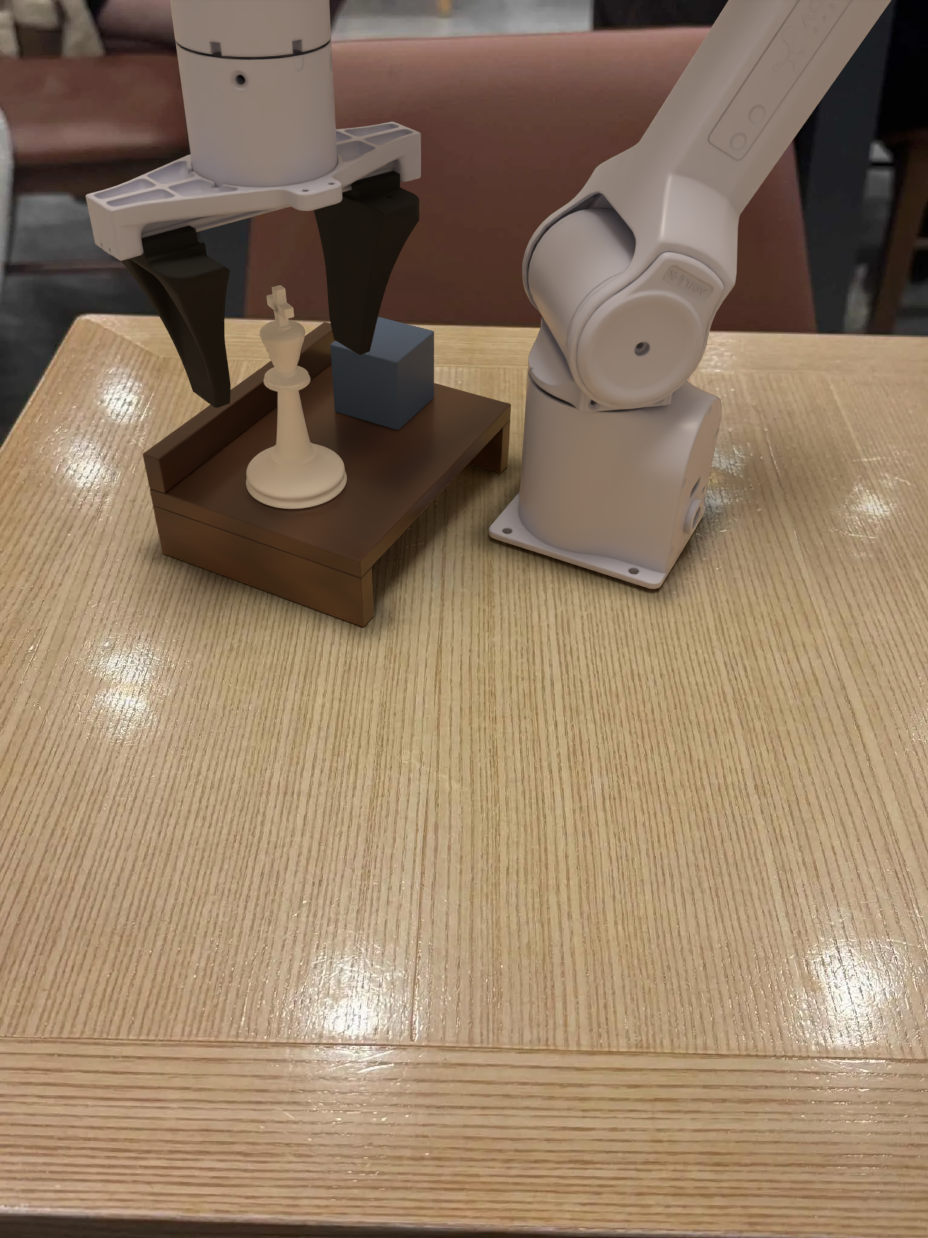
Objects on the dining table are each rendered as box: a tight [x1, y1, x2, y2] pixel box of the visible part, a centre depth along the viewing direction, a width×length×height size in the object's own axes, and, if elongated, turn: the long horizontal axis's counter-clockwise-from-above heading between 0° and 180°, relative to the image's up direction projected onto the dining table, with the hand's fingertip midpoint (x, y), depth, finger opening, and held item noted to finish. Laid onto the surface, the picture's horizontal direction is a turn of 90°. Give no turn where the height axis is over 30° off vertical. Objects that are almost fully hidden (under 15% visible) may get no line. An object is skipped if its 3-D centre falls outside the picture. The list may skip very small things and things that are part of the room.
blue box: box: [330, 316, 435, 430], centre depth 58 cm, size 4×4×4 cm
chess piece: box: [246, 284, 347, 509], centre depth 51 cm, size 5×5×10 cm
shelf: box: [142, 321, 512, 628], centre depth 57 cm, size 12×16×6 cm
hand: (284, 370), depth 49 cm, fingers open, 7 cm apart
